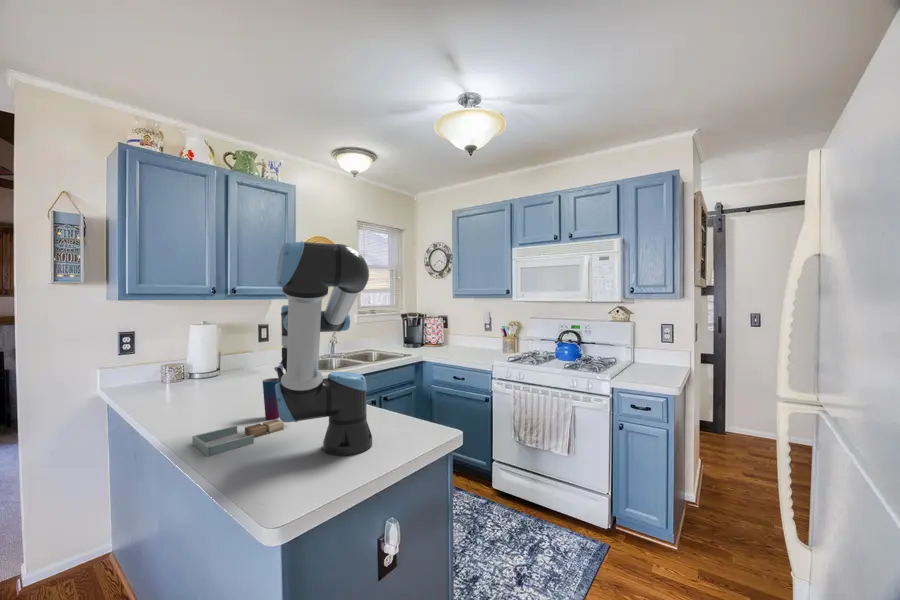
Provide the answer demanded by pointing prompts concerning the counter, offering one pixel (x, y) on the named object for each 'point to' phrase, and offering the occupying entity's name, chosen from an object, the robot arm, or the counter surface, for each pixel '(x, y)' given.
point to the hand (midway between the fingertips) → (293, 409)
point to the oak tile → (274, 426)
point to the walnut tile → (256, 430)
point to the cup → (270, 398)
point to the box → (210, 450)
